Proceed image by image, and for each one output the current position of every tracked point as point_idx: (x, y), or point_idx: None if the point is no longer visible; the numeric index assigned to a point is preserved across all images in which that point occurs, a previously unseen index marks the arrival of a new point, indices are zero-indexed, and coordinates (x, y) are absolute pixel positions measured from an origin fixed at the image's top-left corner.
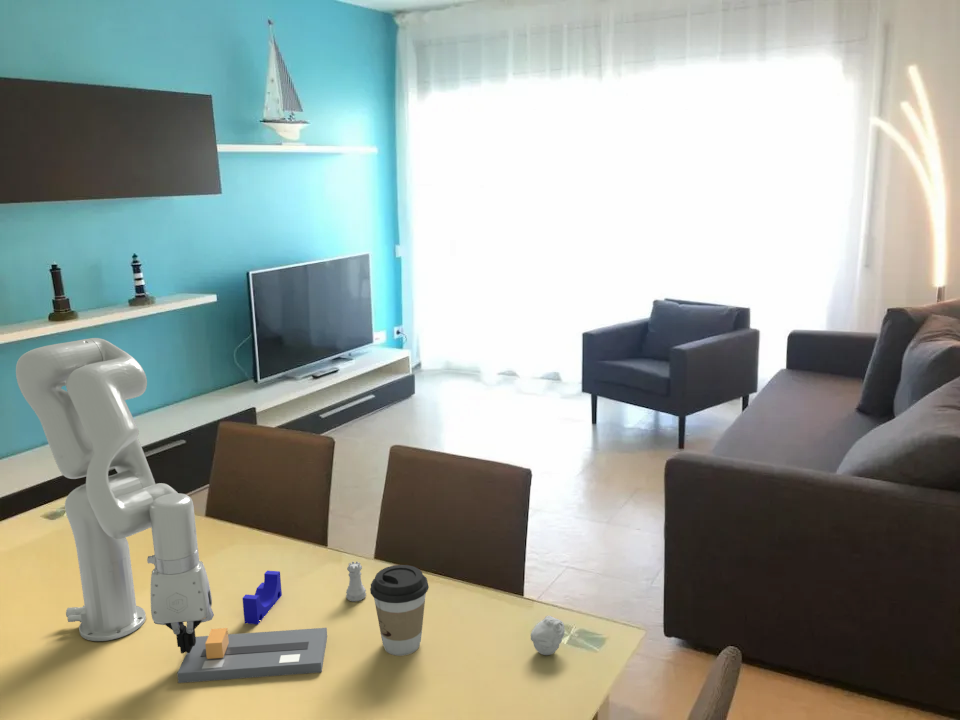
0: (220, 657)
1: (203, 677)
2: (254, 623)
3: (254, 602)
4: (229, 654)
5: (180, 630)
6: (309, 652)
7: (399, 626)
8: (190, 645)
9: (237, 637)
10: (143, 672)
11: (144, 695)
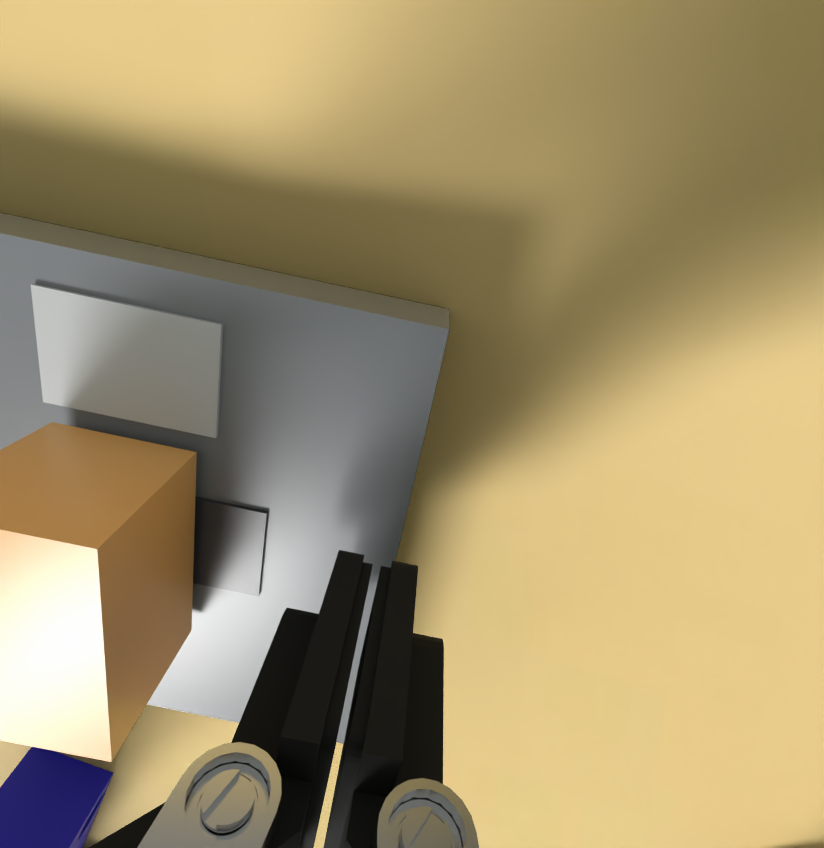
0: (71, 427)
1: (233, 270)
2: (52, 756)
3: None
4: None
5: (372, 838)
6: None
7: None
8: (317, 616)
9: None
10: (695, 531)
11: (732, 218)
